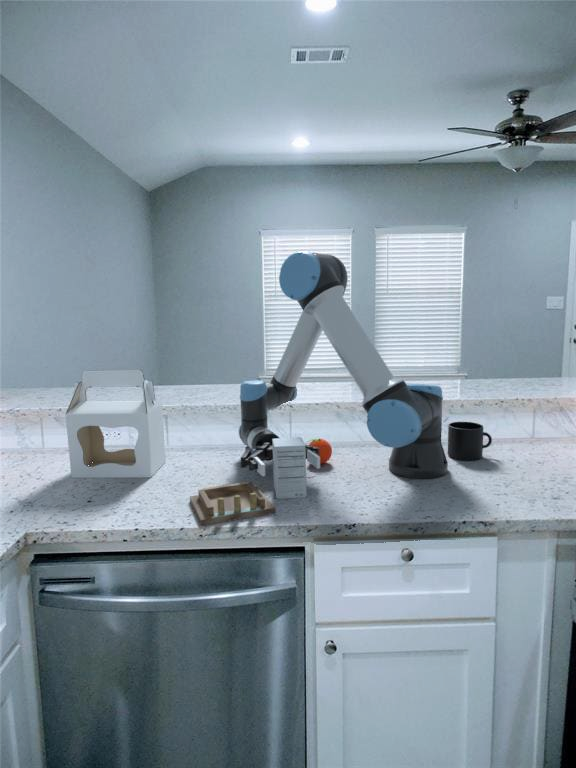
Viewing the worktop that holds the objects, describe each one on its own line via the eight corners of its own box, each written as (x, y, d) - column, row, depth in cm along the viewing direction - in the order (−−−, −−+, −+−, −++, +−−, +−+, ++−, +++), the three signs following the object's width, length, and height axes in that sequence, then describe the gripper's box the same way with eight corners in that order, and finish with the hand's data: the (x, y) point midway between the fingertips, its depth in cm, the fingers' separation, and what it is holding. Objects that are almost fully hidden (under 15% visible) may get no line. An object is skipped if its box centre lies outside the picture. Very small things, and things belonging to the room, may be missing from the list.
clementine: (301, 466, 141) (300, 441, 139) (306, 458, 147) (306, 434, 146) (329, 467, 138) (329, 442, 137) (334, 460, 145) (333, 436, 144)
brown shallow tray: (256, 491, 122) (256, 472, 122) (275, 513, 109) (274, 492, 109) (190, 501, 117) (189, 481, 116) (201, 525, 104) (199, 503, 103)
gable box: (166, 462, 147) (160, 366, 143) (152, 477, 134) (145, 372, 130) (91, 463, 148) (83, 367, 144) (70, 478, 135) (60, 374, 131)
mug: (495, 461, 140) (497, 429, 139) (451, 461, 142) (452, 429, 140) (486, 451, 149) (487, 421, 148) (444, 451, 151) (445, 421, 149)
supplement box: (273, 488, 124) (271, 437, 122) (303, 486, 125) (302, 436, 123) (275, 499, 117) (273, 446, 115) (307, 497, 118) (306, 444, 116)
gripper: (307, 451, 142) (340, 474, 122) (220, 462, 134) (240, 489, 114) (307, 425, 141) (340, 444, 121) (218, 435, 133) (238, 457, 113)
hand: (291, 466), depth 118 cm, fingers open, 13 cm apart
